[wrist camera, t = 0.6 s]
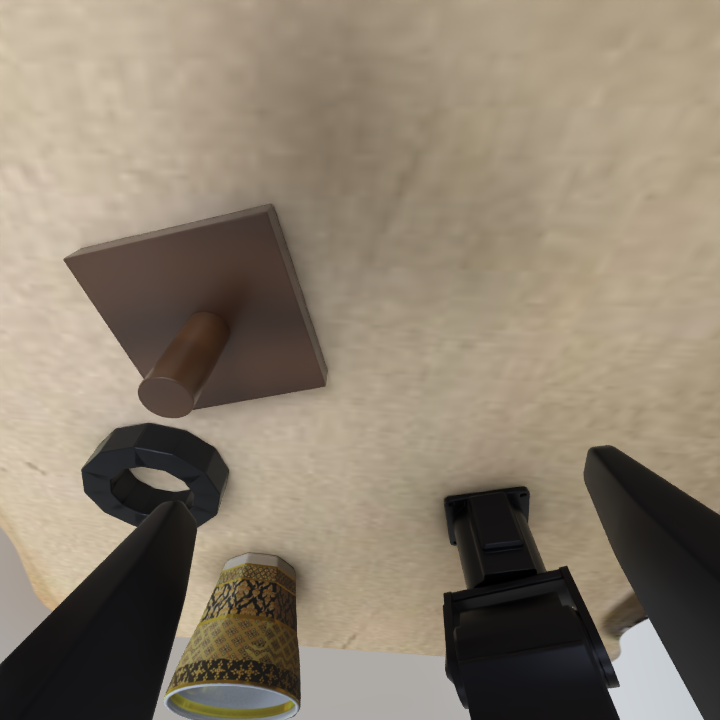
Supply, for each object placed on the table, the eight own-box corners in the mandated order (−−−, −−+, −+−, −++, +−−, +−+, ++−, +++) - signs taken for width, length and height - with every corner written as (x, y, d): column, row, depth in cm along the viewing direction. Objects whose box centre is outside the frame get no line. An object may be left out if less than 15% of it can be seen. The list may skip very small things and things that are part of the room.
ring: (245, 496, 31) (238, 522, 29) (141, 512, 32) (128, 537, 30) (194, 414, 26) (182, 439, 24) (72, 435, 27) (52, 460, 25)
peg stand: (327, 371, 24) (318, 461, 18) (176, 398, 25) (122, 491, 19) (272, 203, 18) (233, 255, 12) (80, 248, 19) (-38, 315, 13)
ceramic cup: (183, 561, 36) (132, 700, 28) (269, 530, 33) (241, 674, 25) (270, 614, 42) (249, 740, 34) (347, 592, 40) (345, 723, 31)
